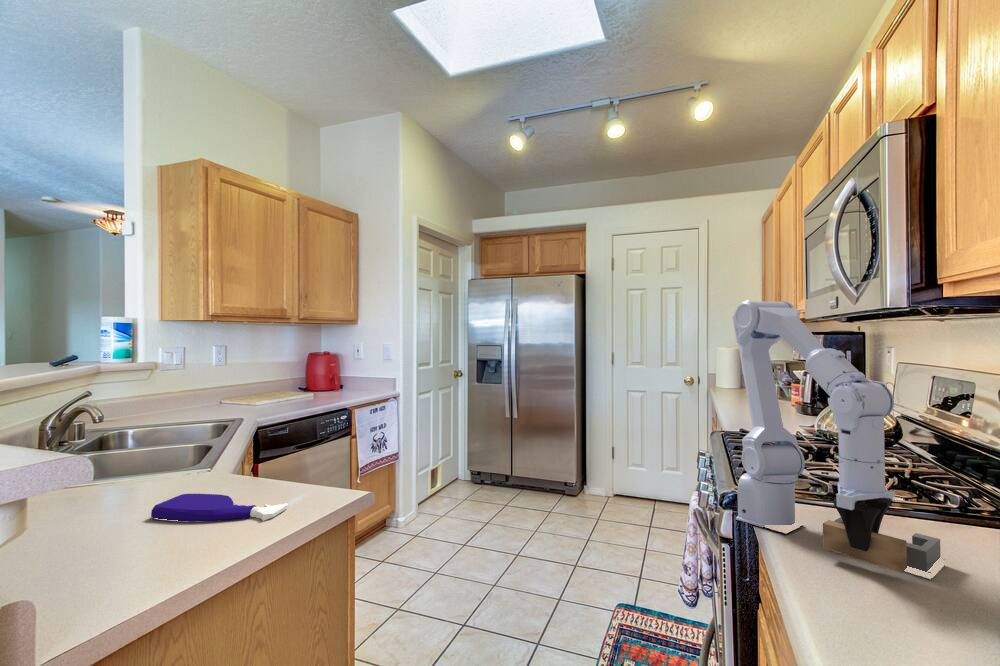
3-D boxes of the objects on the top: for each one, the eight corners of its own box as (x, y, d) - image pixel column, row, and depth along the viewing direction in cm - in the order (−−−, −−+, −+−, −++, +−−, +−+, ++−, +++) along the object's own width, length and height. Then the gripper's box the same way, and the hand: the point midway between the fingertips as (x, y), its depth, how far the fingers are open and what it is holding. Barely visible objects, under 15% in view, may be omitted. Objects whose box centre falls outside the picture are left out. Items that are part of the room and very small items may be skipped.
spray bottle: (145, 508, 92) (263, 514, 90) (186, 491, 103) (292, 496, 101) (144, 523, 92) (262, 529, 90) (186, 504, 103) (292, 510, 101)
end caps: (826, 542, 80) (826, 524, 81) (844, 531, 85) (844, 515, 85) (926, 572, 70) (926, 551, 70) (940, 558, 75) (940, 539, 75)
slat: (823, 548, 76) (822, 523, 76) (829, 544, 77) (828, 520, 78) (901, 572, 68) (901, 544, 68) (906, 567, 69) (906, 540, 69)
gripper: (877, 471, 66) (878, 569, 65) (908, 457, 74) (909, 543, 74) (820, 461, 71) (821, 550, 71) (854, 449, 80) (856, 529, 79)
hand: (862, 546), depth 73 cm, fingers closed on slat, 2 cm apart
